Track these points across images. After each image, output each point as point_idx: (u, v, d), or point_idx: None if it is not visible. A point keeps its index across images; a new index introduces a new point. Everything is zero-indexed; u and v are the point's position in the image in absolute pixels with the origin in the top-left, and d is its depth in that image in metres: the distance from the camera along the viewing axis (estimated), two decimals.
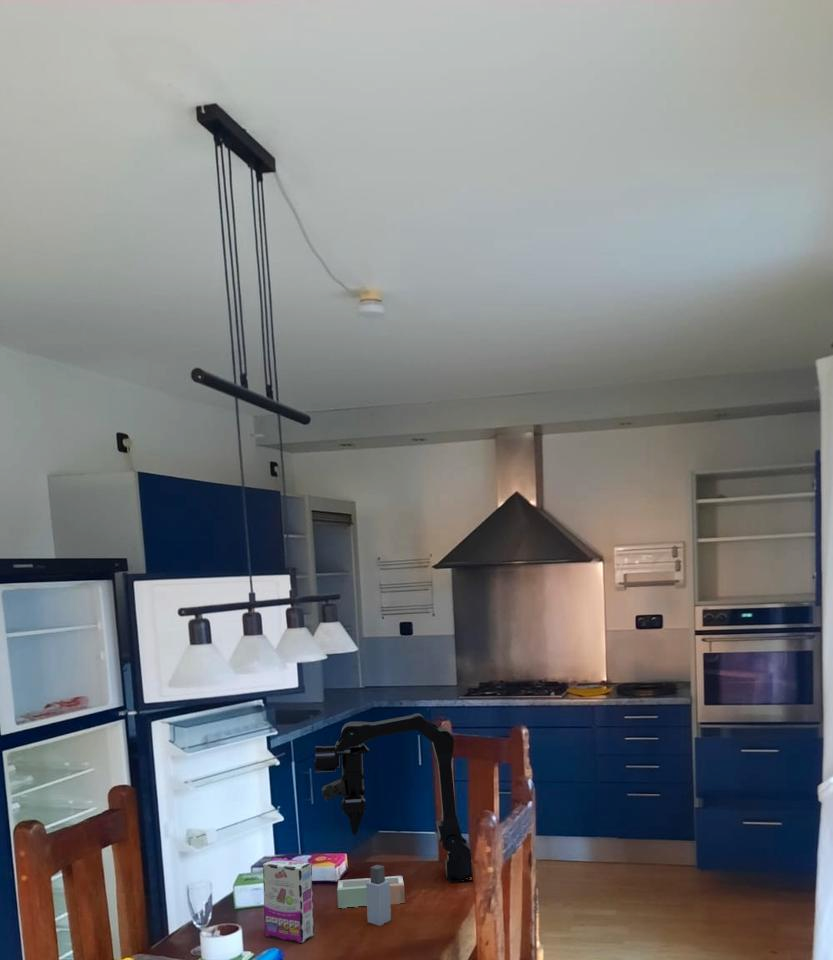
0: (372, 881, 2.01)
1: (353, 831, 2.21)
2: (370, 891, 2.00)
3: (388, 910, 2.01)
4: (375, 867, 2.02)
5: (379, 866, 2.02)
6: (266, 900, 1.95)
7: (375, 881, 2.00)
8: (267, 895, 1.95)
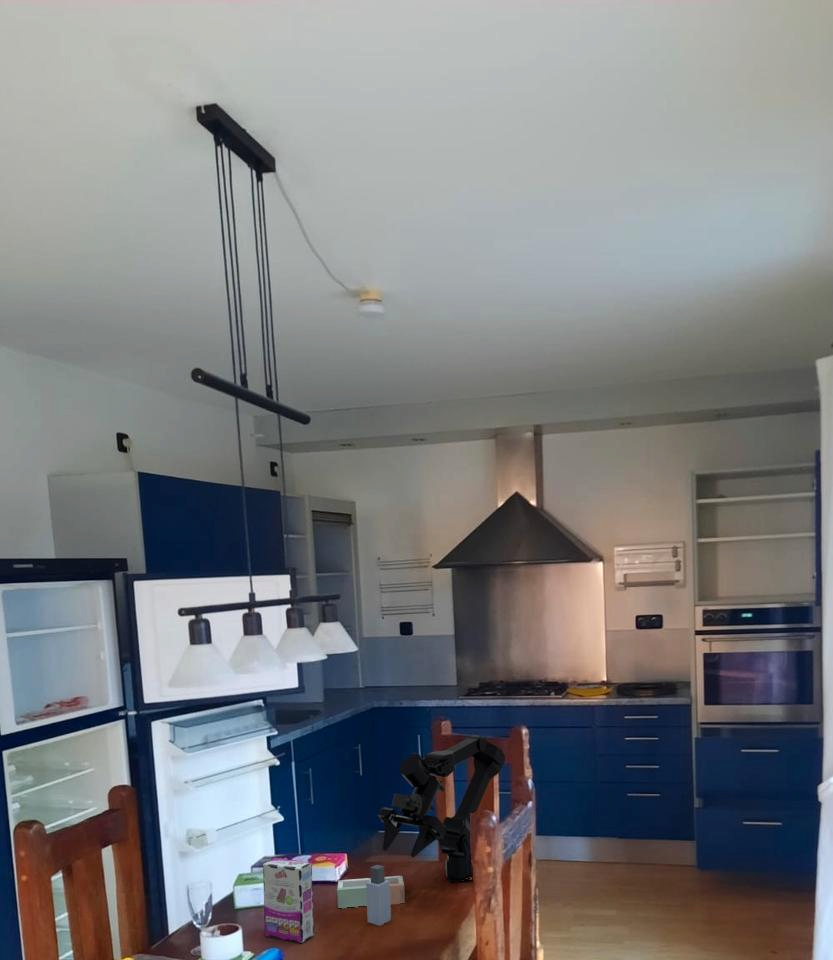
0: (372, 881, 2.01)
1: (414, 853, 2.06)
2: (370, 891, 2.00)
3: (388, 910, 2.01)
4: (375, 867, 2.02)
5: (379, 866, 2.02)
6: (266, 900, 1.95)
7: (375, 881, 2.00)
8: (267, 895, 1.95)
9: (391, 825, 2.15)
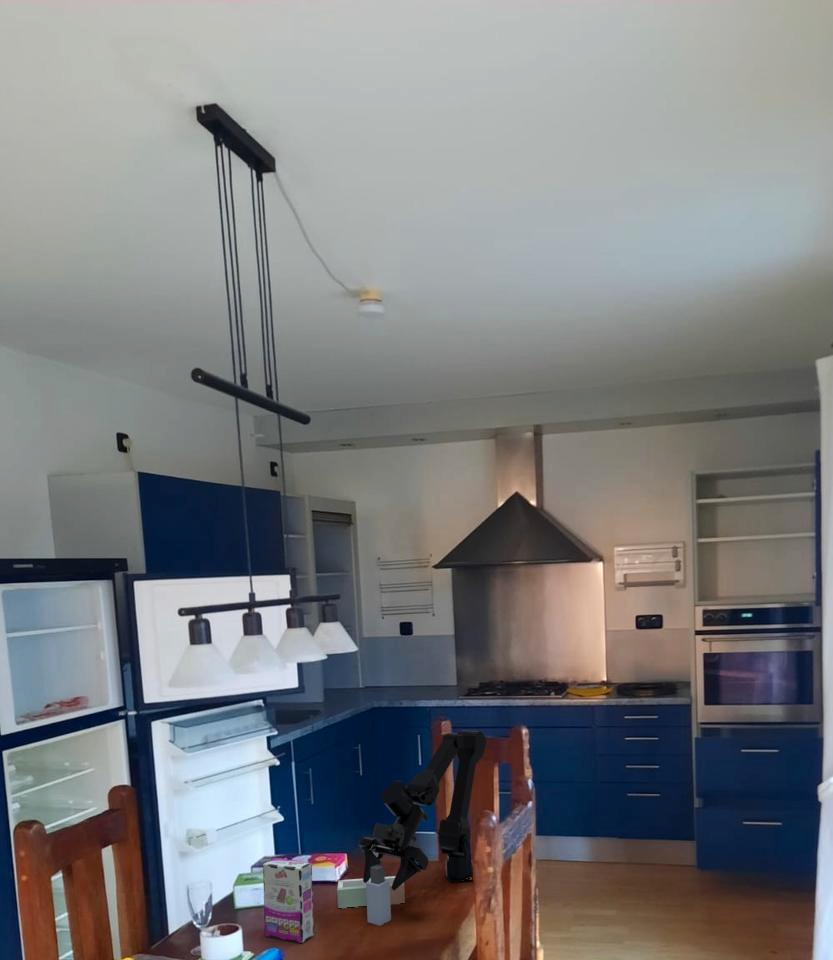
0: (372, 881, 2.01)
1: (395, 885, 1.99)
2: (370, 891, 2.00)
3: (388, 910, 2.01)
4: (375, 867, 2.02)
5: (379, 866, 2.02)
6: (266, 900, 1.95)
7: (375, 881, 2.00)
8: (267, 895, 1.95)
9: (372, 856, 2.08)
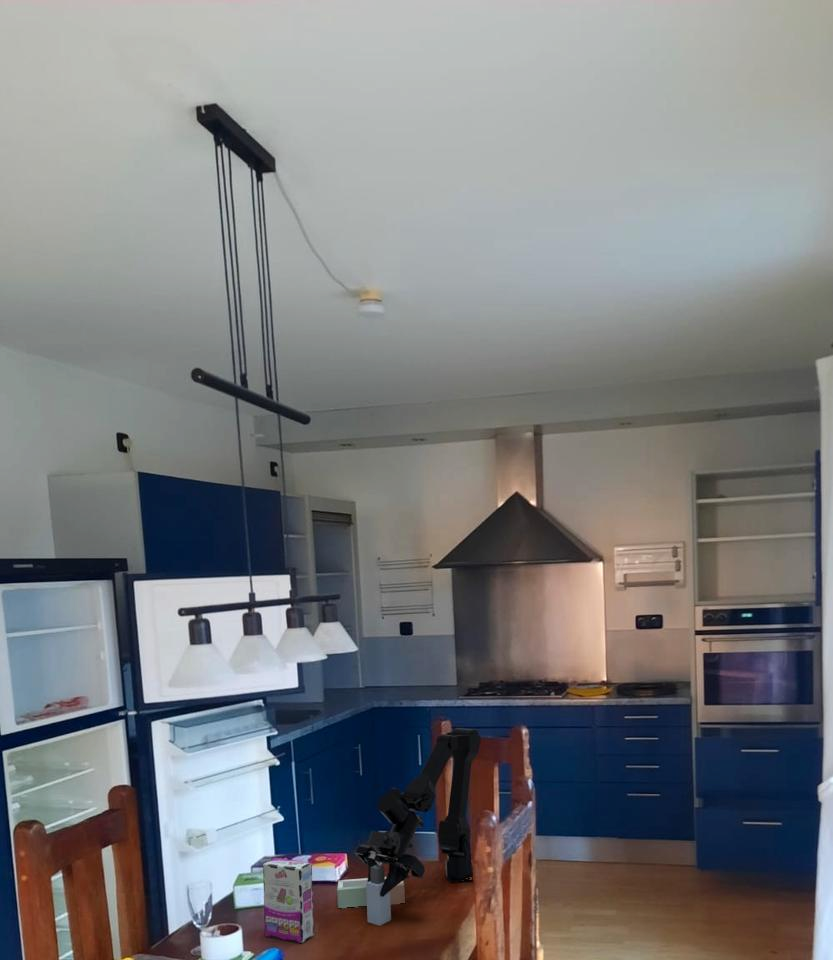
0: (372, 881, 2.01)
1: (383, 892, 1.99)
2: (370, 891, 2.00)
3: (388, 910, 2.01)
4: (375, 867, 2.02)
5: (379, 866, 2.02)
6: (266, 900, 1.95)
7: (375, 881, 2.00)
8: (267, 895, 1.95)
9: None
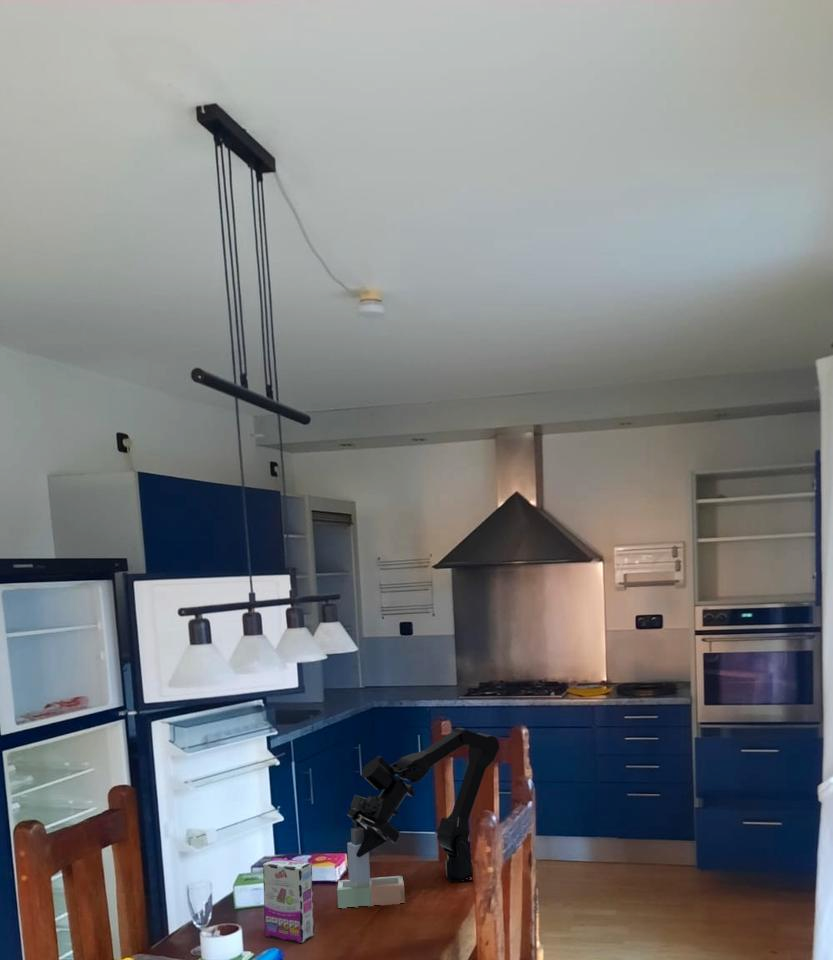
0: (352, 842, 2.12)
1: (360, 853, 2.09)
2: (349, 851, 2.11)
3: (367, 871, 2.10)
4: (355, 829, 2.12)
5: (359, 828, 2.12)
6: (266, 900, 1.95)
7: (354, 842, 2.11)
8: (267, 895, 1.95)
9: None
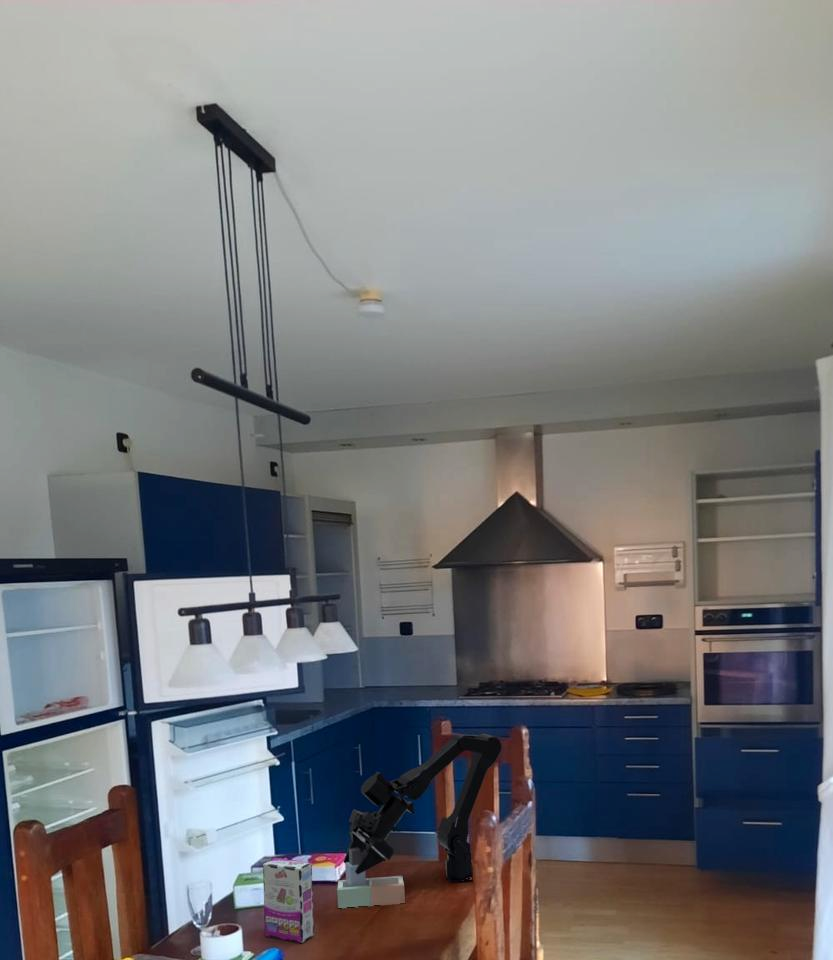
0: (349, 862, 2.16)
1: (358, 870, 2.11)
2: (347, 870, 2.15)
3: None
4: (352, 849, 2.16)
5: (356, 849, 2.16)
6: (266, 900, 1.95)
7: (351, 862, 2.15)
8: (267, 895, 1.95)
9: (356, 840, 2.21)
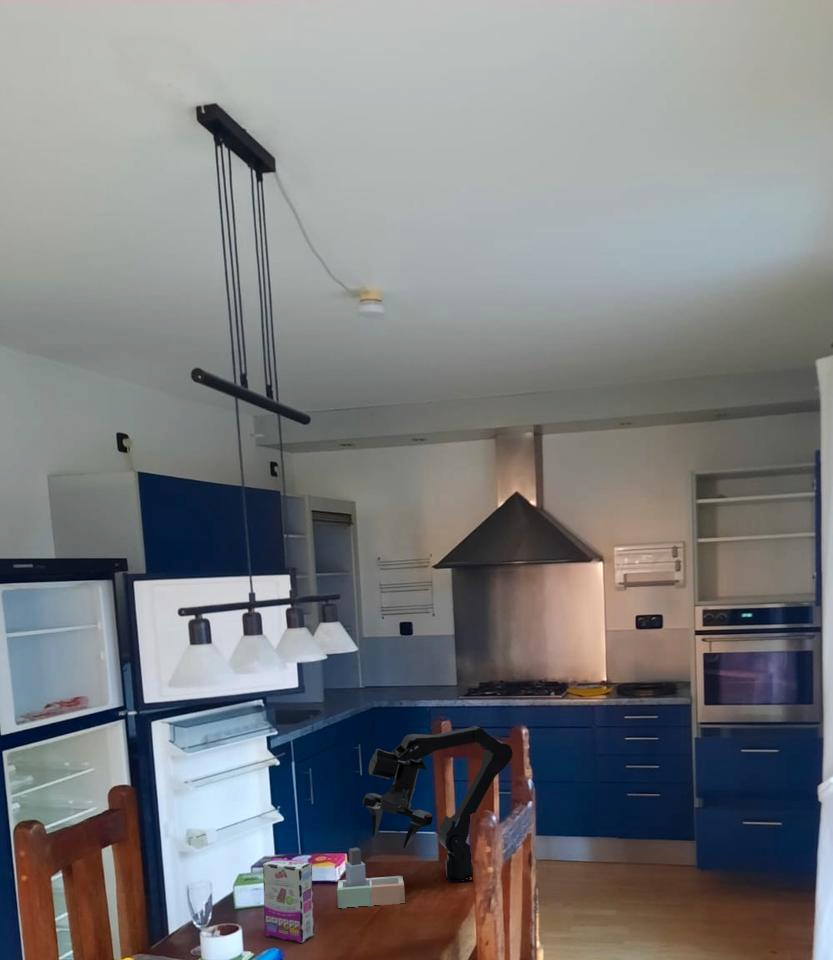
0: (349, 862, 2.16)
1: (406, 844, 2.20)
2: (347, 870, 2.15)
3: None
4: (352, 849, 2.16)
5: (356, 849, 2.16)
6: (266, 900, 1.95)
7: (351, 862, 2.15)
8: (267, 895, 1.95)
9: (377, 812, 2.25)
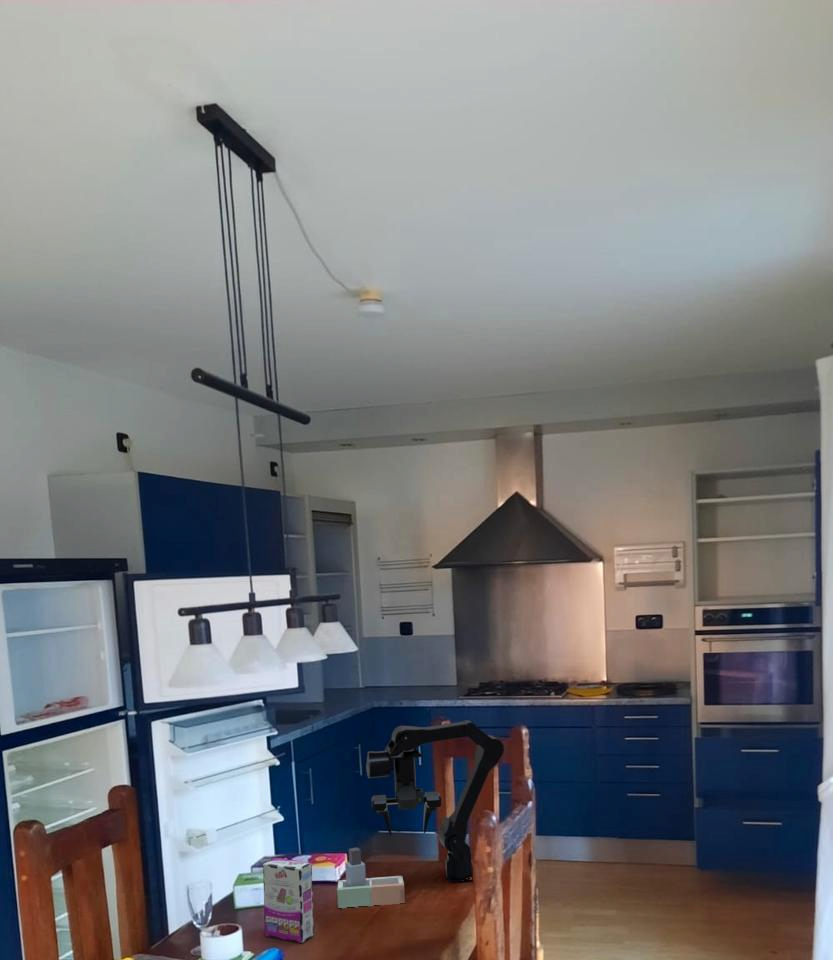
0: (349, 862, 2.16)
1: (425, 829, 2.25)
2: (347, 870, 2.15)
3: None
4: (352, 849, 2.16)
5: (356, 849, 2.16)
6: (266, 900, 1.95)
7: (351, 862, 2.15)
8: (267, 895, 1.95)
9: None
